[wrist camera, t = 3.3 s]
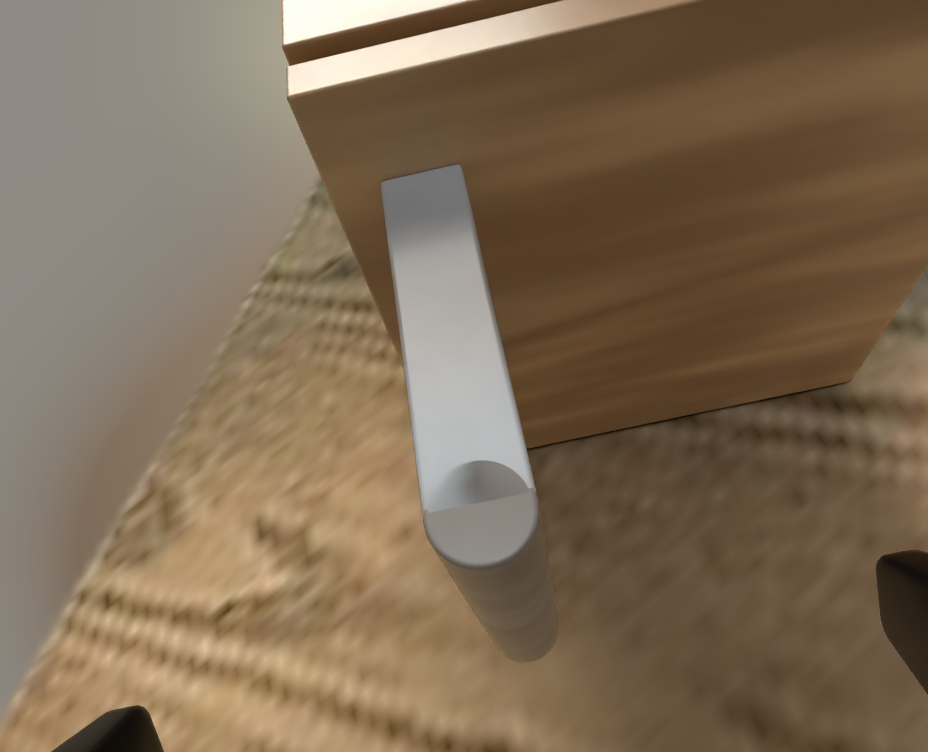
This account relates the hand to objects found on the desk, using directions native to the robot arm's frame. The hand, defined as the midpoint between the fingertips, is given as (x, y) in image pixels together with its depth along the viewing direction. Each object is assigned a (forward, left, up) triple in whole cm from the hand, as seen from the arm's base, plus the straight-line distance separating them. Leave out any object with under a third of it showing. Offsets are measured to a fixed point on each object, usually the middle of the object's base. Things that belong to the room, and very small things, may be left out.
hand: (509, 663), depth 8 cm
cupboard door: (+5, -4, -10) cm, 12 cm away
